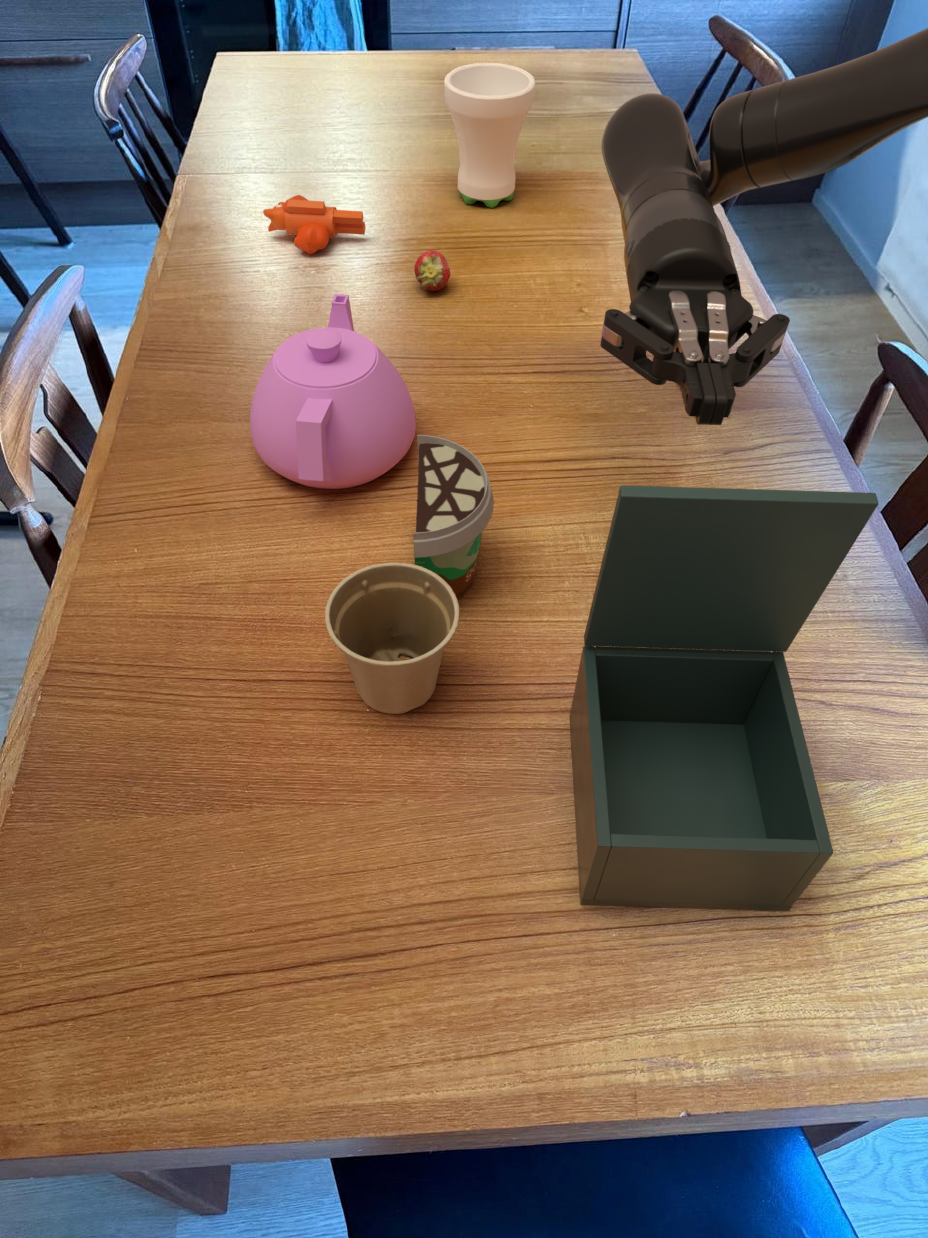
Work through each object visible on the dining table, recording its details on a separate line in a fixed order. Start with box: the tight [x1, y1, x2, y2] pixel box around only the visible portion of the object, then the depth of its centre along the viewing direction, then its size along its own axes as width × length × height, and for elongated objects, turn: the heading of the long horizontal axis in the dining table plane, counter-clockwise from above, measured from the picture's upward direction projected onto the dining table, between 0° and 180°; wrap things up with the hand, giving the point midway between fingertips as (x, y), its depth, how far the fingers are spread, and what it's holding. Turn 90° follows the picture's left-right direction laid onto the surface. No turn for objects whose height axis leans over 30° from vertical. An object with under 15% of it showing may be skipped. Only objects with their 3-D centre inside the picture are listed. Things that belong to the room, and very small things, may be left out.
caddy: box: [569, 645, 834, 912], centre depth 60 cm, size 15×14×9 cm
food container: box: [412, 434, 495, 600], centre depth 73 cm, size 12×6×10 cm, turn 0°
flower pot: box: [324, 561, 460, 715], centre depth 66 cm, size 9×9×9 cm
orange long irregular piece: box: [262, 194, 366, 255], centre depth 110 cm, size 5×8×12 cm
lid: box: [583, 485, 879, 653], centre depth 54 cm, size 16×14×1 cm
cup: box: [443, 62, 536, 209], centre depth 115 cm, size 11×11×14 cm
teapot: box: [249, 293, 417, 490], centre depth 82 cm, size 22×16×12 cm
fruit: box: [413, 249, 451, 292], centre depth 104 cm, size 4×6×5 cm
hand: (712, 413), depth 55 cm, fingers closed
